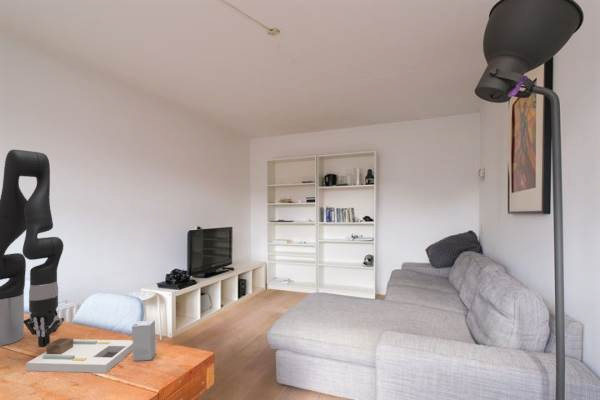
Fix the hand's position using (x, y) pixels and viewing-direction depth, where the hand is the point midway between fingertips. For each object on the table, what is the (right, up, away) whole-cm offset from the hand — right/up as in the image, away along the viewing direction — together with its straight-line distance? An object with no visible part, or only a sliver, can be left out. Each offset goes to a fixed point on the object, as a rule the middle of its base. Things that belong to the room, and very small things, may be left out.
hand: (44, 346), depth 101 cm
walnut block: (+6, -1, 0) cm, 6 cm away
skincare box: (+35, -4, 0) cm, 35 cm away
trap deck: (+15, -4, -1) cm, 15 cm away
